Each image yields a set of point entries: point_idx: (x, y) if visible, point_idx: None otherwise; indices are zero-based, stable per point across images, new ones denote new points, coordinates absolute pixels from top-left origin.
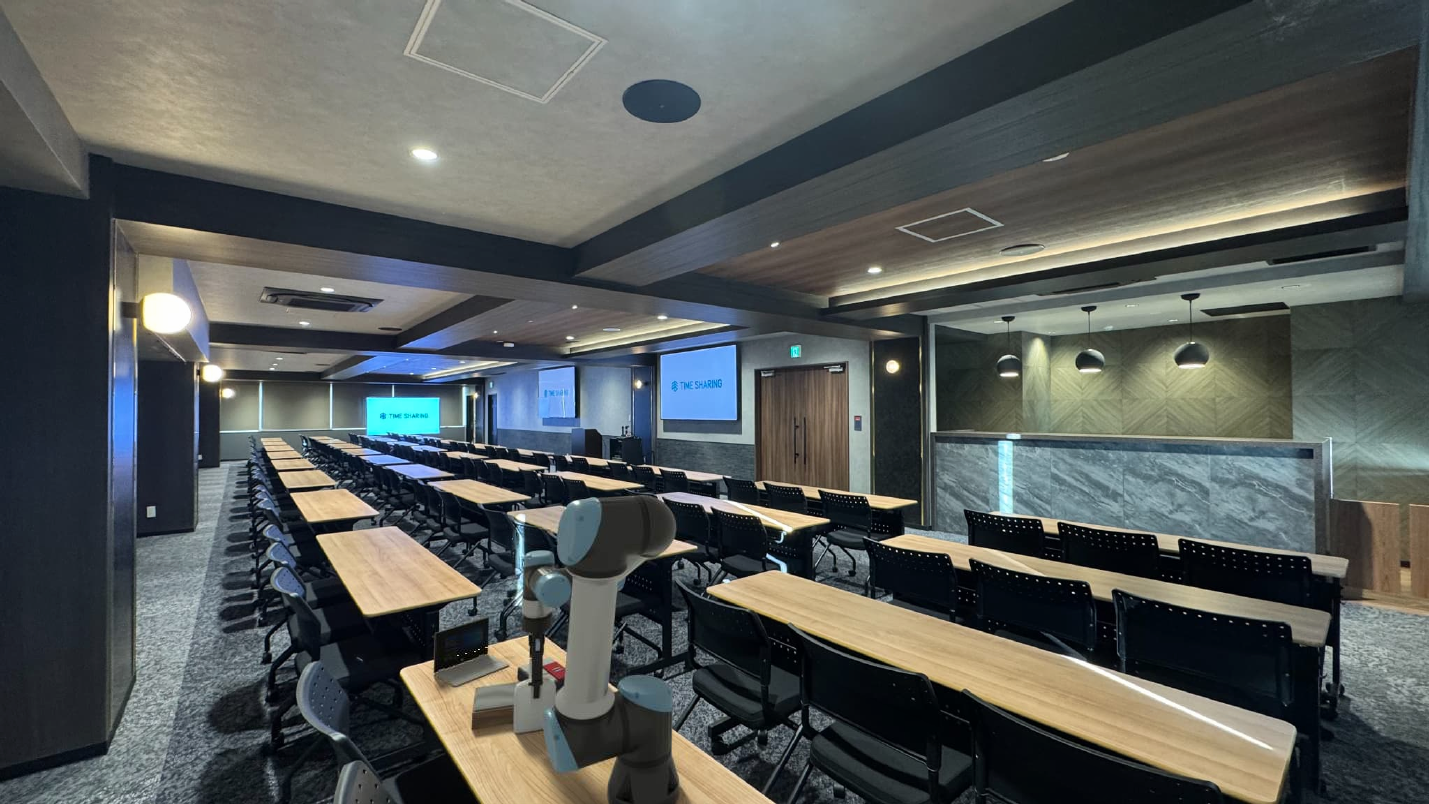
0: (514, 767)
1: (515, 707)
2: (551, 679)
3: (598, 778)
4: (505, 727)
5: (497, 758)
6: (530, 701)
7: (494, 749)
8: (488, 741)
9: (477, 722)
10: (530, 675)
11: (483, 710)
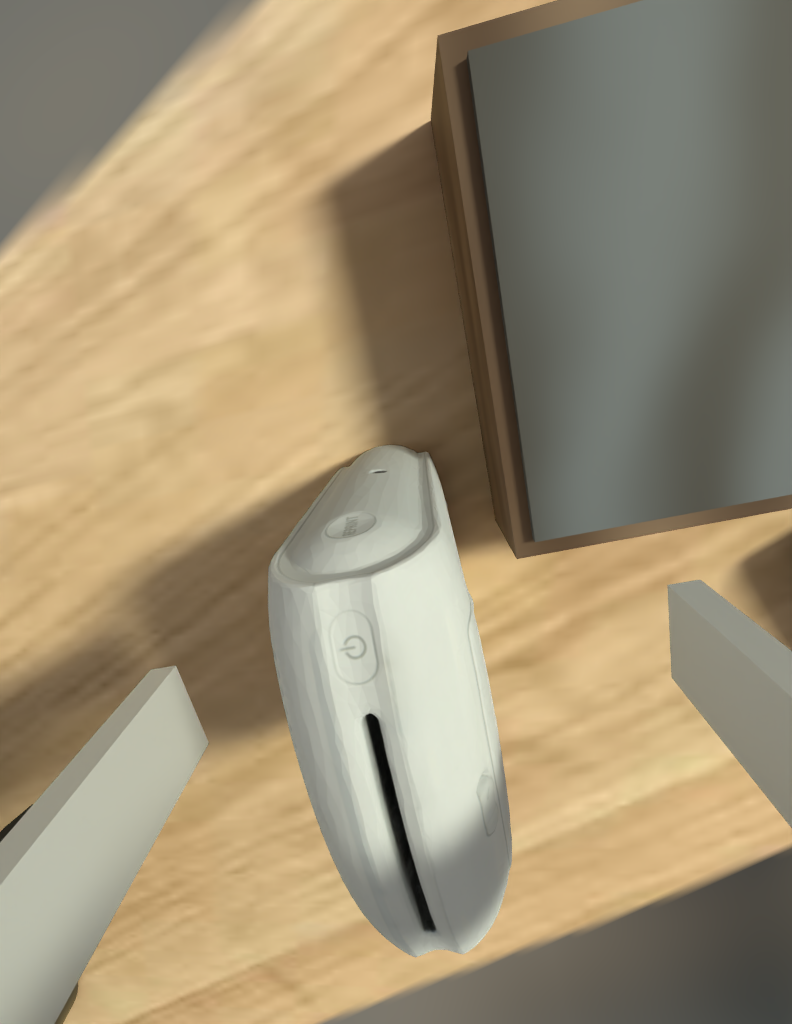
0: (31, 524)
1: (325, 504)
2: (438, 945)
3: None
4: (429, 382)
5: (97, 415)
6: (93, 739)
7: (183, 373)
8: (269, 308)
9: (441, 146)
10: (733, 661)
11: (477, 156)
